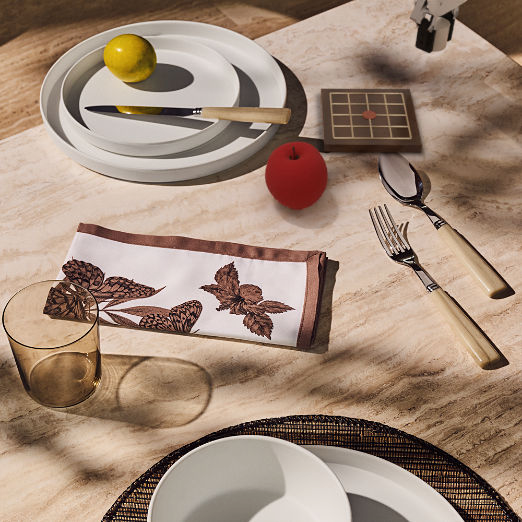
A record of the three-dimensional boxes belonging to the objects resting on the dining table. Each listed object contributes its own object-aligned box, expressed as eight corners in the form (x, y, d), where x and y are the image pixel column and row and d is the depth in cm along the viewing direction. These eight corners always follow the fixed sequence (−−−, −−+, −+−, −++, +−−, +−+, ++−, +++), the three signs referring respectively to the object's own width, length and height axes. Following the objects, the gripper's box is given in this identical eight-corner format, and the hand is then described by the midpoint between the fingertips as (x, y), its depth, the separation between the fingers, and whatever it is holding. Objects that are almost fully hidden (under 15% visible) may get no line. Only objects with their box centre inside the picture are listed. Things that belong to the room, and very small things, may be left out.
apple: (337, 210, 97) (342, 155, 90) (278, 226, 95) (279, 172, 88) (311, 171, 103) (314, 116, 96) (255, 185, 101) (254, 131, 94)
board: (408, 96, 116) (410, 88, 115) (420, 152, 106) (422, 144, 105) (320, 95, 116) (320, 87, 115) (323, 152, 106) (324, 143, 105)
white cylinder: (443, 38, 117) (447, 16, 114) (448, 51, 114) (452, 29, 111) (418, 38, 117) (421, 16, 114) (421, 52, 114) (425, 29, 111)
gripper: (439, -43, 96) (420, 72, 109) (505, -78, 104) (480, 33, 117) (397, -58, 100) (383, 55, 113) (464, -90, 107) (444, 18, 121)
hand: (433, 43), depth 115 cm, fingers closed on white cylinder, 4 cm apart
